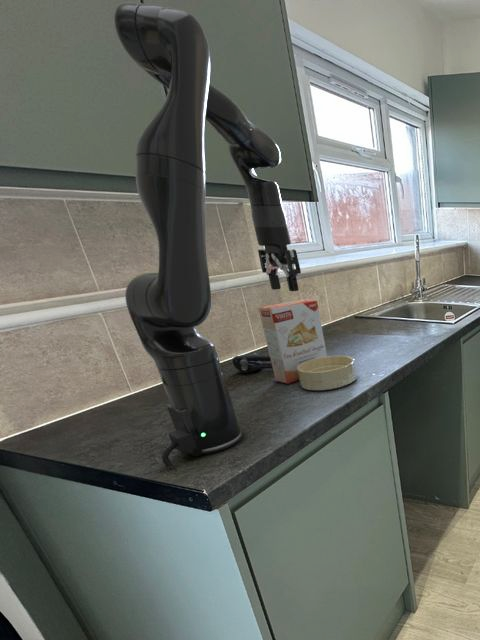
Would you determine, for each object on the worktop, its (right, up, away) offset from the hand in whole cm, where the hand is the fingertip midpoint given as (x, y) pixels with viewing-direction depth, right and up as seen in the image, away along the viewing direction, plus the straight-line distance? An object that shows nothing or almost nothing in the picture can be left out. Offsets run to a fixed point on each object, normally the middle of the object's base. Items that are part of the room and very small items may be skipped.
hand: (285, 290), depth 111 cm
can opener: (-13, -21, +14) cm, 28 cm away
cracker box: (+1, -23, +9) cm, 25 cm away
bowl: (+11, -25, +3) cm, 27 cm away
